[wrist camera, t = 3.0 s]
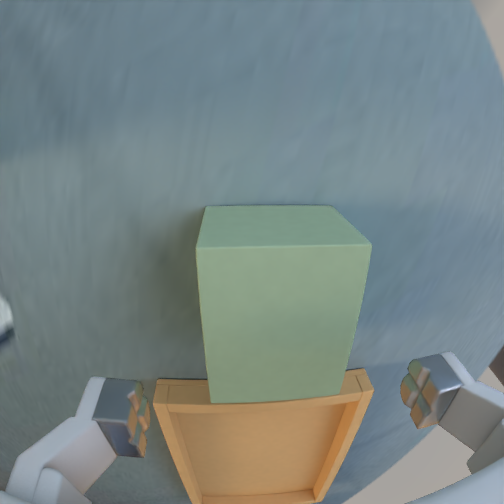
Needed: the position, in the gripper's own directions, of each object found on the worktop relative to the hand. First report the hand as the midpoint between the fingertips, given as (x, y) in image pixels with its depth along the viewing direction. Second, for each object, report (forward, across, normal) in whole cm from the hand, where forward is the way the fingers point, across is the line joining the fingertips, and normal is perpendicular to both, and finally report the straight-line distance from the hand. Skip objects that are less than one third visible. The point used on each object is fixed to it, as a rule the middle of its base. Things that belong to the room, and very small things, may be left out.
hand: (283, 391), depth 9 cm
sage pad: (+7, 0, 0) cm, 7 cm away
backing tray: (+7, 0, +16) cm, 18 cm away
